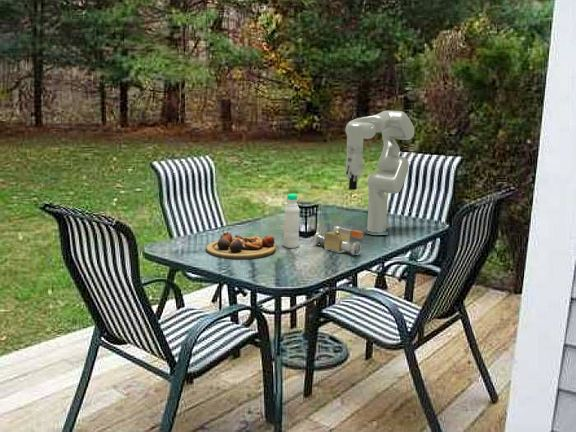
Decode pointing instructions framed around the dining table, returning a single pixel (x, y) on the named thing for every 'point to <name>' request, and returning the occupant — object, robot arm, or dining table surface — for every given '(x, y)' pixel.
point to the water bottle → (291, 222)
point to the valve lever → (349, 232)
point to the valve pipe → (337, 242)
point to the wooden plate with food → (241, 247)
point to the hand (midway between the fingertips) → (352, 189)
